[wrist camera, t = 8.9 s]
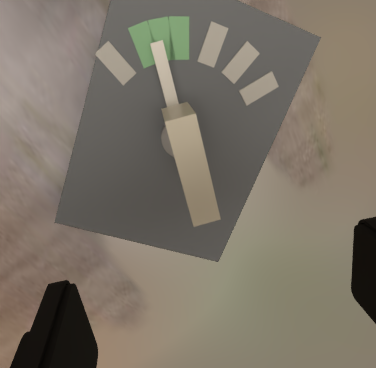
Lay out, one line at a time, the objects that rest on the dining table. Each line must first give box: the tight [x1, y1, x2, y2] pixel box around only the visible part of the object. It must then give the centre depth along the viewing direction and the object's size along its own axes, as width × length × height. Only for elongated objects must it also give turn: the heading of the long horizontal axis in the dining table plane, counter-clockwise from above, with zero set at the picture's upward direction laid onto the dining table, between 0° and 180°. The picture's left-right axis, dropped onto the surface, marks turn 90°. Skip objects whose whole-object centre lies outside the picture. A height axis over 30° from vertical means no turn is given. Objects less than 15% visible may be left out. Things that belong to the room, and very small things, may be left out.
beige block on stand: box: [150, 40, 221, 227], centre depth 24 cm, size 11×3×9 cm, turn 14°
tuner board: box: [55, 0, 321, 262], centre depth 29 cm, size 22×16×1 cm
